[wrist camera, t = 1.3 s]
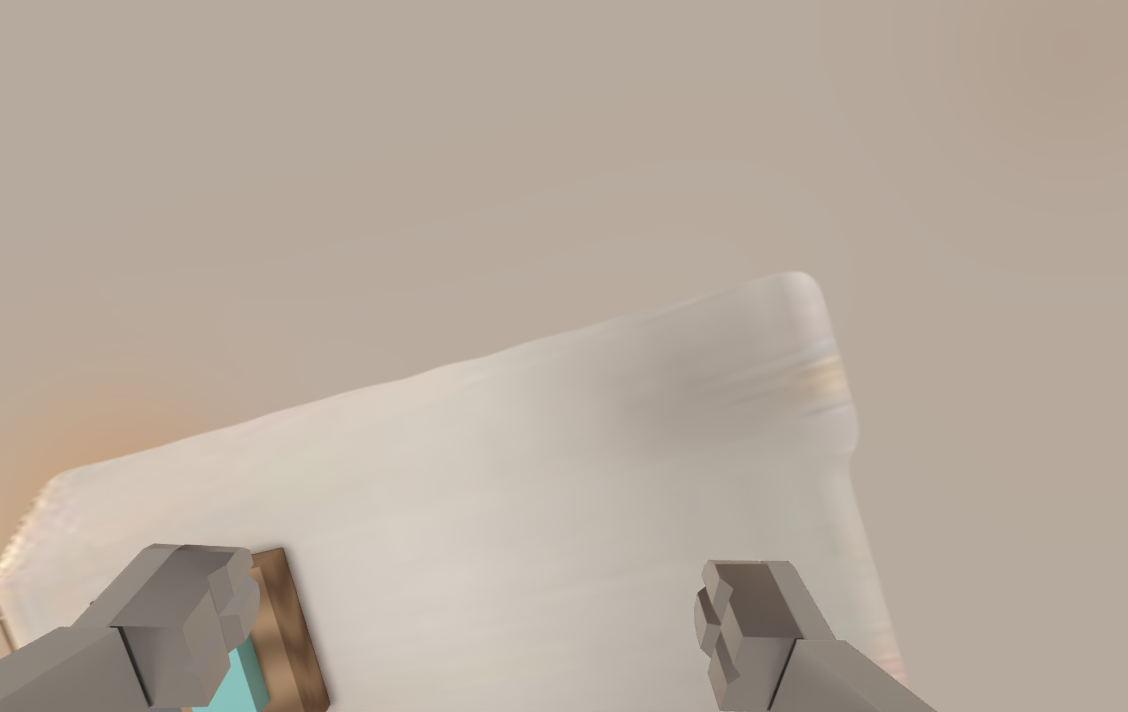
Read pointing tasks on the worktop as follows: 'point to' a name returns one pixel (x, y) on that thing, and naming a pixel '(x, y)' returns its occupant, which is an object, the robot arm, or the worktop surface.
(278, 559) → the board
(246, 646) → the block
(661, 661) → the worktop surface
